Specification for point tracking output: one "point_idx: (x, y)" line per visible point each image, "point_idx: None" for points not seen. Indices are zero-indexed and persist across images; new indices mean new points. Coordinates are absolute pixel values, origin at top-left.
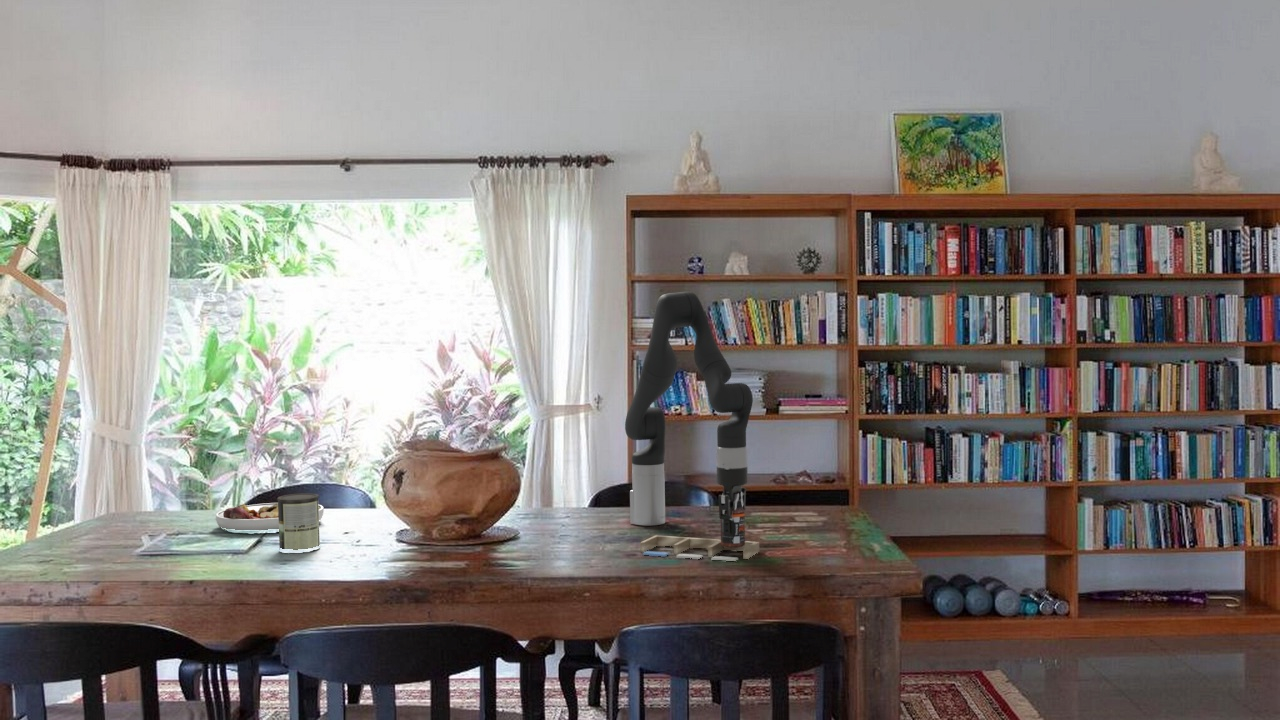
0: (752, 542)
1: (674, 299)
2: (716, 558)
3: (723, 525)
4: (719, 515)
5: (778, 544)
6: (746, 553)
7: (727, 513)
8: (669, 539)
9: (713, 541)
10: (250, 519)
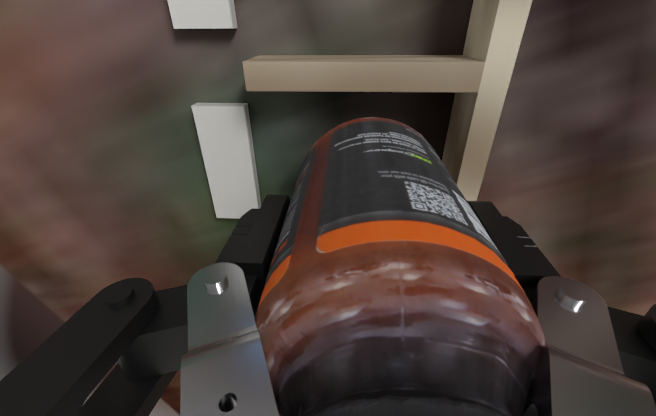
0: None
1: None
2: (199, 134)
3: (289, 216)
4: (77, 312)
5: (622, 274)
6: None
7: (95, 399)
8: None
9: (495, 3)
10: None
